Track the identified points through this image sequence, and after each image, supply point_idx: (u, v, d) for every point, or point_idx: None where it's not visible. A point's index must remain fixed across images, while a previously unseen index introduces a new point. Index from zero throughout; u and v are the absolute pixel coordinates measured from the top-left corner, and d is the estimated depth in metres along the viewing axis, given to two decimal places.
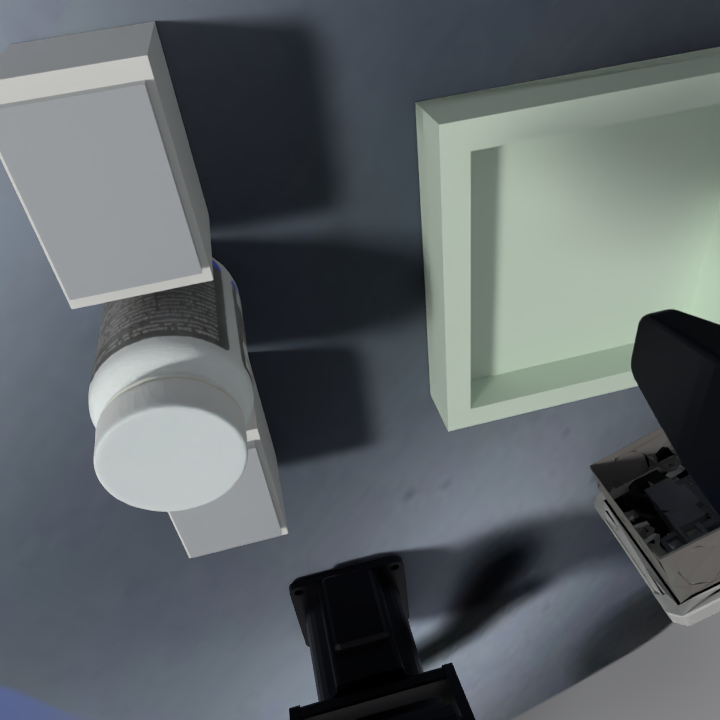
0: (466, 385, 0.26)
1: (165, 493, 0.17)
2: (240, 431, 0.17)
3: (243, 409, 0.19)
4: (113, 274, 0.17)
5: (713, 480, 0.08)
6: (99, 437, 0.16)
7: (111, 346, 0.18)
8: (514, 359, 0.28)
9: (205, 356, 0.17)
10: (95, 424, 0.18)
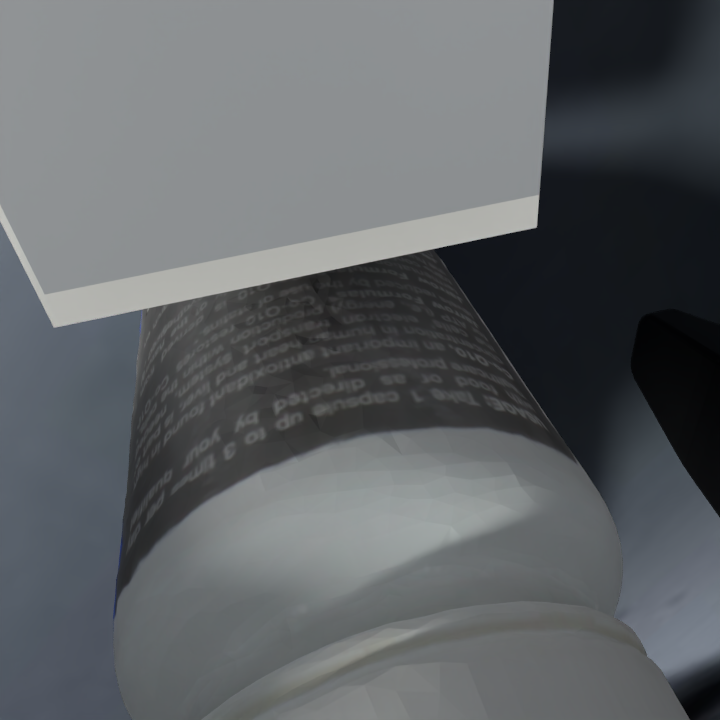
0: None
1: None
2: None
3: None
4: (221, 189, 0.04)
5: (713, 480, 0.08)
6: None
7: (195, 460, 0.05)
8: None
9: (550, 501, 0.05)
10: None
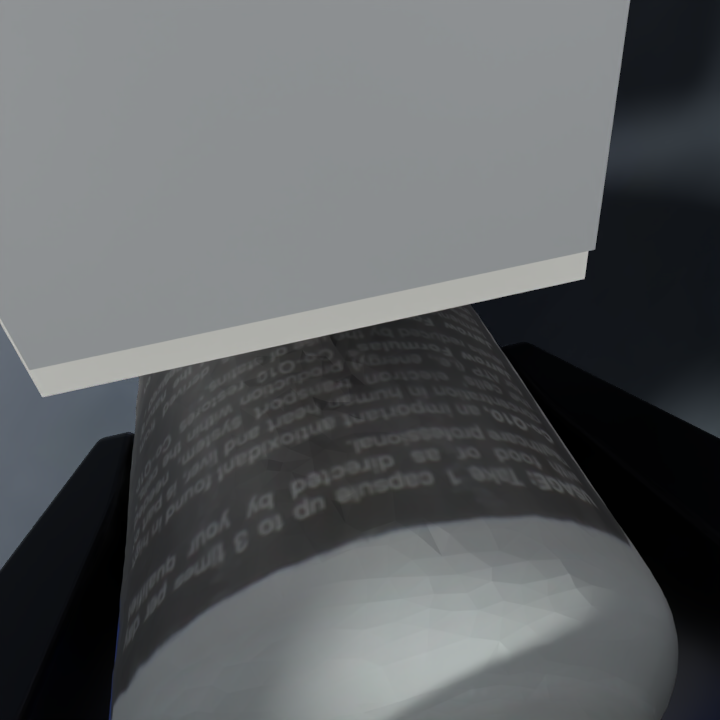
0: None
1: None
2: None
3: None
4: (234, 251, 0.04)
5: None
6: None
7: (202, 547, 0.04)
8: None
9: (608, 602, 0.04)
10: None
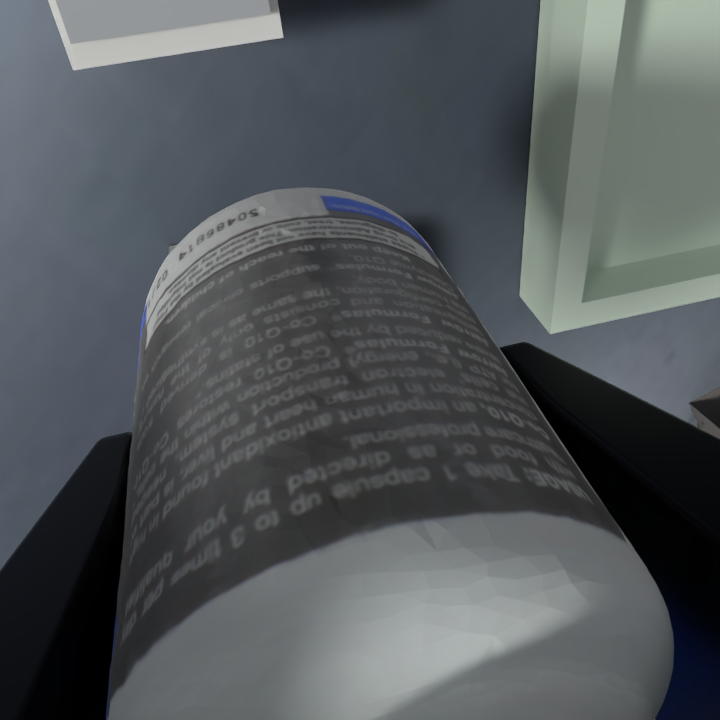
0: (581, 268, 0.20)
1: None
2: None
3: None
4: (137, 1, 0.11)
5: None
6: None
7: (198, 544, 0.04)
8: (631, 246, 0.22)
9: (605, 597, 0.04)
10: None
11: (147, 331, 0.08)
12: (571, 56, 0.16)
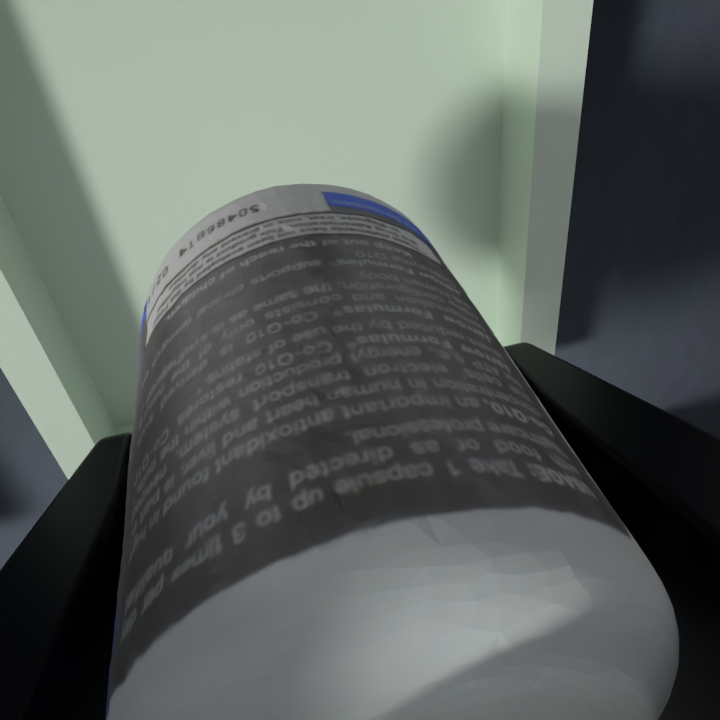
0: (82, 437, 0.15)
1: None
2: None
3: None
4: None
5: None
6: None
7: (199, 540, 0.04)
8: None
9: (609, 595, 0.04)
10: None
11: (147, 328, 0.08)
12: None
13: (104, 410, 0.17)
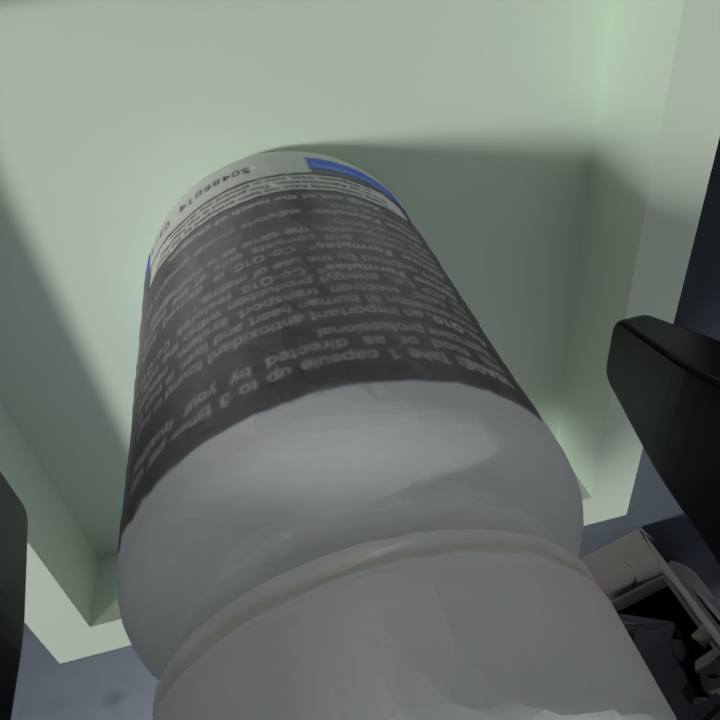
0: (53, 592, 0.12)
1: None
2: None
3: None
4: None
5: (685, 487, 0.08)
6: None
7: (193, 409, 0.06)
8: None
9: (513, 449, 0.05)
10: (137, 650, 0.06)
11: (151, 273, 0.09)
12: None
13: (83, 542, 0.14)
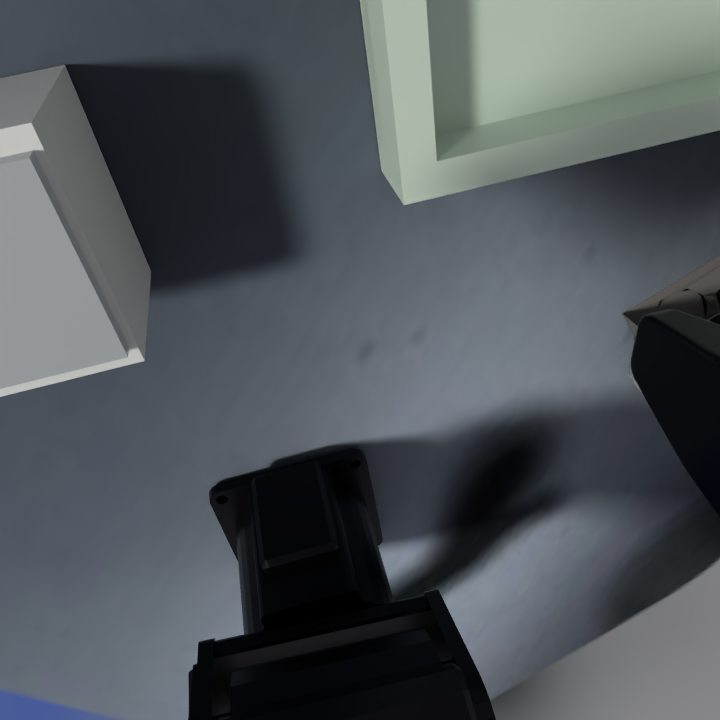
0: (426, 109, 0.16)
1: None
2: None
3: None
4: None
5: (713, 480, 0.08)
6: None
7: None
8: (507, 95, 0.18)
9: None
10: None
11: None
12: None
13: None
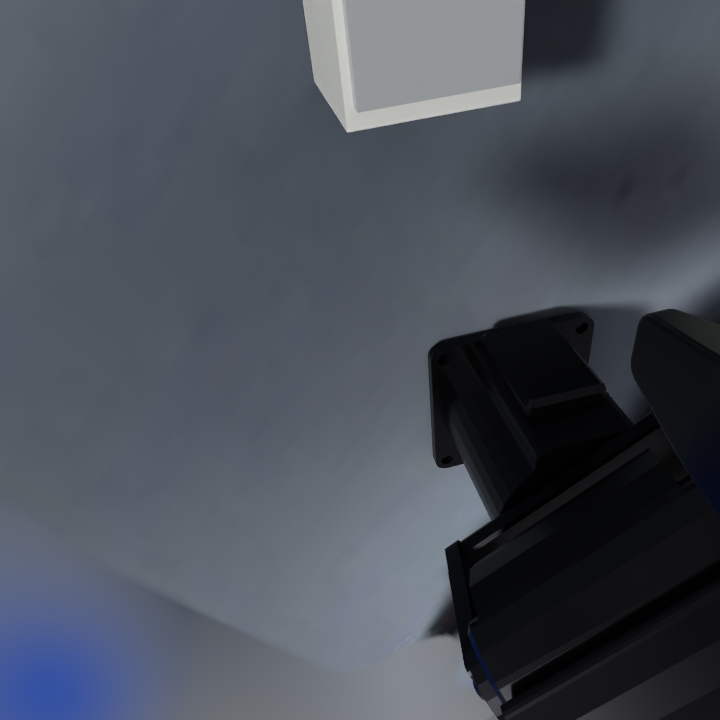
0: None
1: None
2: None
3: None
4: None
5: (713, 479, 0.08)
6: None
7: None
8: None
9: None
10: None
11: None
12: None
13: None
